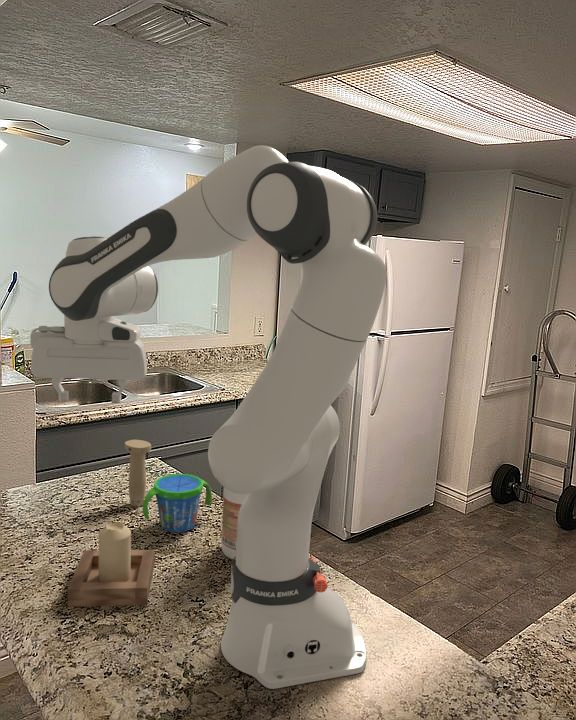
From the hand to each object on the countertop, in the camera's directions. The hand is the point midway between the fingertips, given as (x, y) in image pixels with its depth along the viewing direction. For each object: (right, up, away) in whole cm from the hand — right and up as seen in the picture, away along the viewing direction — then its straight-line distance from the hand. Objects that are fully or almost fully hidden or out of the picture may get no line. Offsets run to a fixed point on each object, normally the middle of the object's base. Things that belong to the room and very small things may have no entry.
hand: (90, 401), depth 110 cm
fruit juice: (+28, -31, +12) cm, 43 cm away
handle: (+1, -27, +30) cm, 40 cm away
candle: (+5, -32, -3) cm, 32 cm away
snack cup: (+12, -29, +20) cm, 38 cm away
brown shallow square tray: (+5, -33, -3) cm, 33 cm away
